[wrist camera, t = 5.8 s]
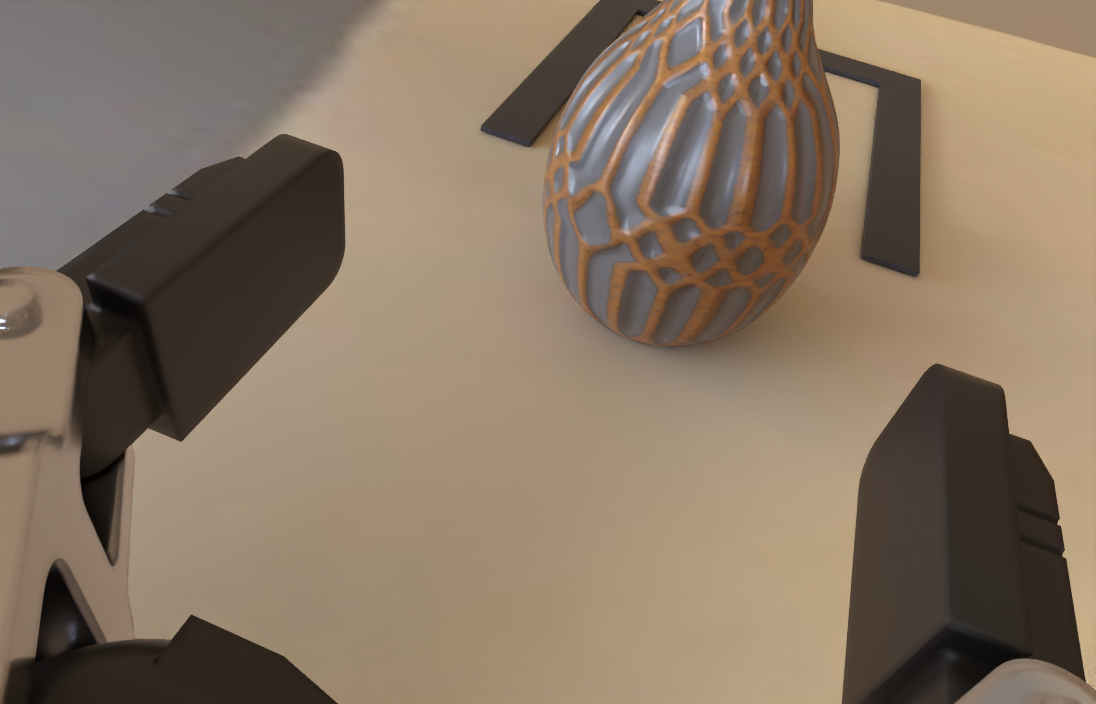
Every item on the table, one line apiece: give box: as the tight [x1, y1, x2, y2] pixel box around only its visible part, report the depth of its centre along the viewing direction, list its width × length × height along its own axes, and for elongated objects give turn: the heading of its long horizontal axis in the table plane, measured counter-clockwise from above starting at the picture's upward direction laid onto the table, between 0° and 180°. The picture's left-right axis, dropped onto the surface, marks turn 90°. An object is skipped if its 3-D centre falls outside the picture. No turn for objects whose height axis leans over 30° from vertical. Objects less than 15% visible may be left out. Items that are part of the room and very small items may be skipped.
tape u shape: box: [481, 0, 921, 277], centre depth 31 cm, size 15×16×1 cm
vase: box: [543, 0, 840, 346], centre depth 19 cm, size 7×7×9 cm
